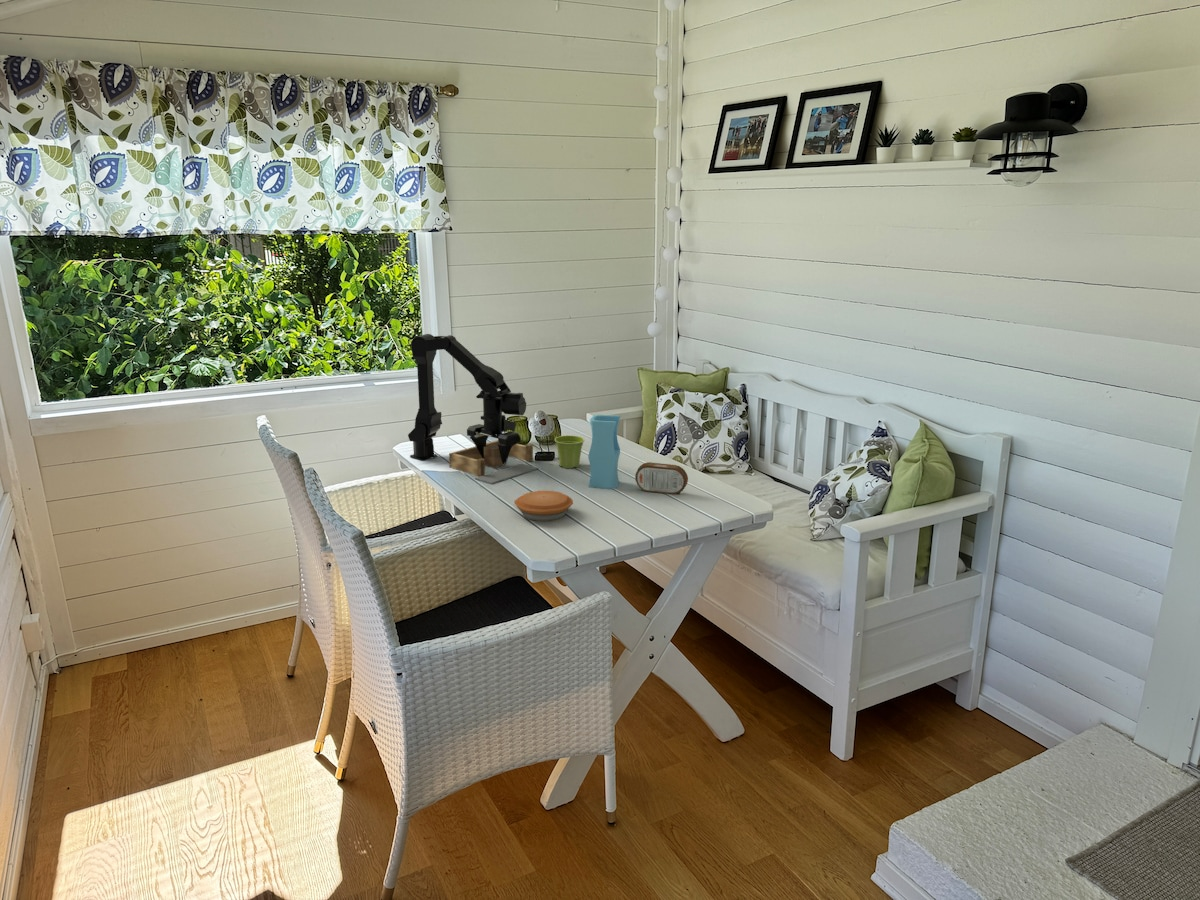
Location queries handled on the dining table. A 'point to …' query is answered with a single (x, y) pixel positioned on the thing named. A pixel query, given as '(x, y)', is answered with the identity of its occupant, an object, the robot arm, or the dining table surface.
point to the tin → (661, 478)
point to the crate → (474, 462)
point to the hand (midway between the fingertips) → (494, 460)
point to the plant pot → (569, 450)
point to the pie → (543, 505)
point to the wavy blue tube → (604, 452)
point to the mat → (506, 473)
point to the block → (492, 456)
